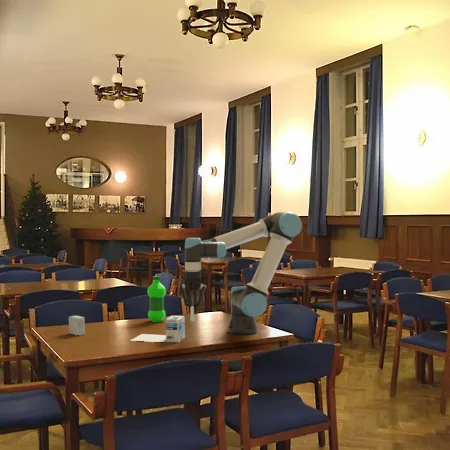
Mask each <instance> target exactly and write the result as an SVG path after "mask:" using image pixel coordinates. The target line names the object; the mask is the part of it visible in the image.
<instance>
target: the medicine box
mask: <svg viewBox="0 0 450 450" xmlns="http://www.w3.org/2000/svg"><path fill="white" fill-rule="evenodd" d="M85 322H86V321H85V316H84V317H83V316H80V315H71V316H68V334H69V333H70V334H69V335H73V334H74V335H73V336H77V335H79V336H84V335H86V331H85V330H86V329H85V327H86V325H85ZM83 334H84V335H83Z"/></svg>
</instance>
